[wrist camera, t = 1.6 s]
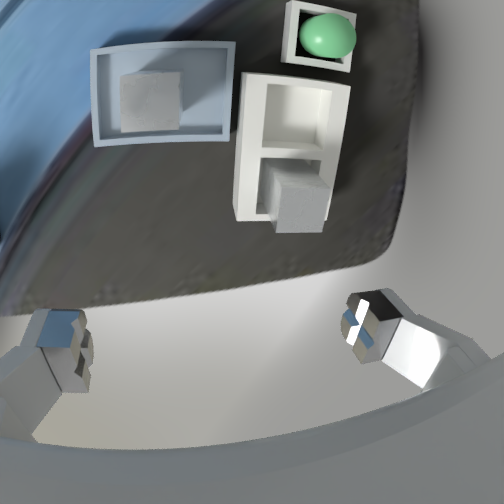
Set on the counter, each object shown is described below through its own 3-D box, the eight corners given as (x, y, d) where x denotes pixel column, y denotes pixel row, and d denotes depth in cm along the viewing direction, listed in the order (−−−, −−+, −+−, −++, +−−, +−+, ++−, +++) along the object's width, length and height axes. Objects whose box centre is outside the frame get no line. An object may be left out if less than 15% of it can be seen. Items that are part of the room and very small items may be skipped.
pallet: (241, 71, 25) (247, 73, 22) (334, 81, 26) (350, 86, 24) (232, 203, 33) (236, 221, 30) (314, 204, 34) (326, 220, 31)
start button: (301, 12, 21) (312, 8, 19) (343, 21, 22) (358, 19, 19) (296, 53, 23) (308, 53, 21) (338, 60, 24) (353, 62, 21)
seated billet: (263, 157, 29) (281, 187, 23) (303, 159, 30) (330, 188, 24) (259, 196, 31) (275, 233, 26) (298, 196, 32) (321, 233, 26)
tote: (97, 49, 21) (90, 49, 19) (233, 42, 23) (235, 41, 22) (100, 141, 26) (94, 147, 25) (227, 135, 28) (229, 141, 27)
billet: (138, 71, 22) (119, 76, 17) (184, 68, 23) (179, 72, 17) (138, 115, 25) (121, 134, 19) (182, 113, 25) (178, 130, 20)
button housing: (286, 3, 21) (292, 0, 20) (347, 15, 22) (356, 14, 21) (280, 61, 25) (286, 62, 23) (340, 70, 26) (349, 72, 24)
